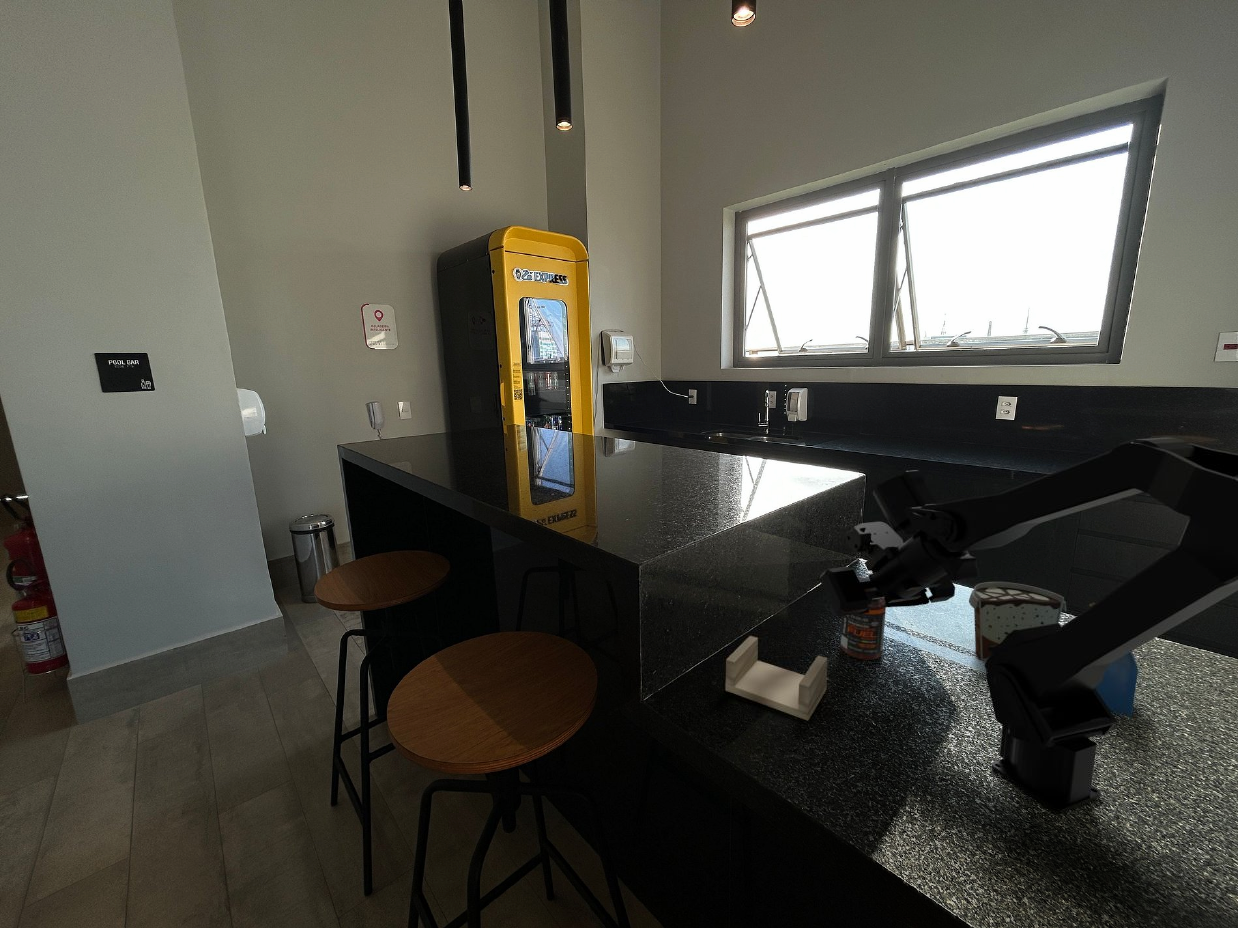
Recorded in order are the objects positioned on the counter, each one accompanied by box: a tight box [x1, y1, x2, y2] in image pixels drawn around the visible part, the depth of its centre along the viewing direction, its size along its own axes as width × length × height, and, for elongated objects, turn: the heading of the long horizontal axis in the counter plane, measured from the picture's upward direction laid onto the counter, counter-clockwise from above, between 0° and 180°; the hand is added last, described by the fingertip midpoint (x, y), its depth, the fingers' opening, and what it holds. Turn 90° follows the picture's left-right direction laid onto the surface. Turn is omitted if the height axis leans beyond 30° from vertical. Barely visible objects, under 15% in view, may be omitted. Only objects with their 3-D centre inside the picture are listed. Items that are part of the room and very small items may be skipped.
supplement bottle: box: [839, 576, 887, 661], centre depth 78 cm, size 6×6×11 cm
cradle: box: [725, 635, 828, 721], centre depth 69 cm, size 11×8×4 cm
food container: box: [968, 581, 1068, 661], centre depth 77 cm, size 12×6×10 cm, turn 84°
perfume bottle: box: [1089, 602, 1139, 717], centre depth 66 cm, size 6×6×12 cm
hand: (856, 606), depth 79 cm, fingers closed on supplement bottle, 6 cm apart
